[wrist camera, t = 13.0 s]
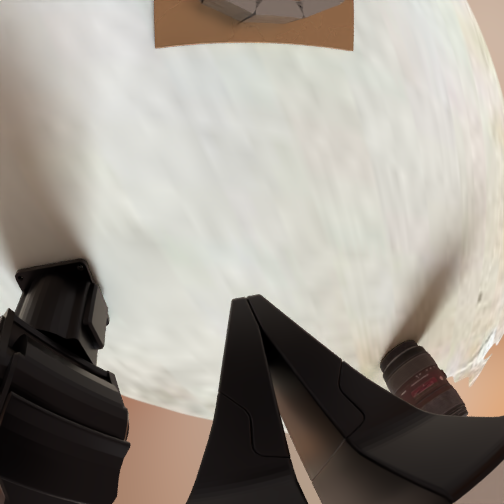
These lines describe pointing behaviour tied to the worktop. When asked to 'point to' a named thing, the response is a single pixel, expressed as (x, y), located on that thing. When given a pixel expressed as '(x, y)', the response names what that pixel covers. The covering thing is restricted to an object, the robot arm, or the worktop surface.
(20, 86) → the worktop surface
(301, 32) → the ring mount
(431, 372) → the camera lens
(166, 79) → the worktop surface
